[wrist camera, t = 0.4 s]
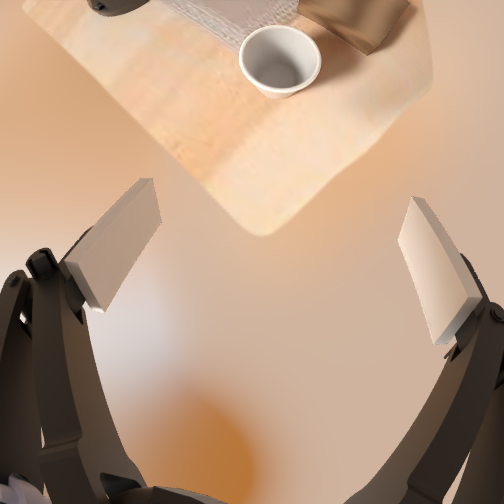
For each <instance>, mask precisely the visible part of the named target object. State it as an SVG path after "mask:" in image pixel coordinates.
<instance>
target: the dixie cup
mask: <svg viewBox="0 0 504 504" xmlns="http://www.w3.org/2000/svg"><path fill="white" fill-rule="evenodd" d="M239 62H240V66H241V69H242V71H243V73H244V74H245V76H246V77H247V78H248V79H249V80H250V81H251V82H252V83H253V84H255V85H256V87H257V88H258V89H259V91H260V92H261V93H262V94H263V95H265V96H266V97H269V98H271V99H285V98H287V97H289V96H291V95H292V94H294V93H295V92H296V91H298V90H300V89H303V88H305V87H306V86H308V85H309V84H311V83H312V82H313V81H314V80H315V78H316V77H317V75H318V74H319V71H320V68H321V54H320V51H319V48H318V46H317V45H316V43H315V42H314V41H313V39H312V38H311V37H310V36H308V35H307V34H306V33H304V32H303V31H301V30H299V29H296V28H294V27H290V26H285V25H271V26H266V27H263V28H260V29H258V30H256V31H254V32H253V33H251V34H250V35H249V36H248V37H247V38H246V39H245V41H244V42H243V44H242V46H241V48H240V52H239Z"/></svg>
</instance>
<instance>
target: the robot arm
mask: <svg viewBox="0 0 504 504" xmlns="http://www.w3.org/2000/svg"><path fill="white" fill-rule="evenodd" d="M147 1H149V0H87V2H88V4H89V6H90V8H91V9H92V10H94V11H95V12H97V13H98V14H100V15H102V16H117V15H121V14H124V13H127V12H130V11H132V10H134V9H136V8H138V7H140V6H141V5H143V4H144V3H146V2H147ZM161 223H162V221H161V217H160V212H159V207H158V202H157V198H156V193H155V188H154V183H153V178H141V179H139V180H138V181H137V182H136V183H135V184H134V185H133V186H132V187H131V188H130V189H129V190H128V191H127V192H126V193H125V194H124V195H123V196H122V197H121V198H120V199H119V200H118V201H117V202H116V203H115V204H114V205H113V206H112V207H111V208H110V209H109V210H108V211H107V212H106V213H105V214H104V215H103V216H102V217H101V218H100V220H98V222H97V223H96V224H95V225H94V226H92V227H91V228H89V229H88V230H87V231H85V232H84V234H83V235H82V236H81V237H80V238H79V240H77V241H76V243H75V244H74V246H72V247H71V249H70V250H69V251H68V252H67V253H66V255H65V256H64V257H63V258H62V259H61V261H60V262H59V263H57V261H56V259H55V257H54V255H53V253H52V251H51V250H50V249H49V248H42V249H39V250H37V251H36V252H34V253H33V254H32V255H31V256H30V257H29V258H28V260H27V262H26V266H27V268H28V270H29V271H30V273H31V275H32V277H33V278H28V277H27V275H26V274H25V272H24V271H23V270H17V271H15V272H13V273H11V274H10V275H9V277H8V278H7V279H6V281H5V283H4V285H3V288H2V290H1V293H0V504H227V503H224V502H221V501H219V500H217V499H214V498H212V497H210V496H208V495H203V494H199V493H195V492H191V491H187V490H183V489H179V488H168V487H158V486H154V487H147V485H146V483H145V481H144V479H143V477H142V475H141V473H140V471H139V470H138V468H137V467H136V465H135V464H134V463H133V462H132V461H131V460H130V459H129V457H128V456H127V454H126V453H125V450H124V448H123V446H122V443H121V441H120V438H119V436H118V433H117V431H116V428H115V425H114V422H113V420H112V417H111V414H110V411H109V408H108V405H107V402H106V399H105V396H104V392H103V389H102V386H101V382H100V378H99V375H98V371H97V367H96V363H95V359H94V355H93V350H92V346H91V341H90V336H89V331H88V326H87V320H86V314H85V310H84V309H83V307H82V305H83V304H84V302H85V301H86V302H87V303H88V305H89V306H90V308H91V310H95V311H98V312H103V313H105V312H106V310H107V308H108V306H109V305H110V303H111V301H112V299H113V298H114V296H115V294H116V292H117V291H118V289H119V287H120V286H121V284H122V282H123V281H124V279H125V278H126V276H127V274H128V273H129V271H130V269H131V268H132V266H133V265H134V263H135V262H136V260H137V258H138V257H139V255H140V254H141V252H142V251H143V249H144V248H145V246H146V244H147V243H148V242H149V240H150V239H151V237H152V236H153V234H154V233H155V231H156V230H157V228H158V227H159V226H160V224H161ZM397 241H398V243H399V246H400V248H401V251H402V253H403V256H404V258H405V261H406V263H407V266H408V268H409V271H410V274H411V276H412V279H413V282H414V285H415V288H416V290H417V293H418V296H419V299H420V302H421V305H422V309H423V312H424V315H425V318H426V321H427V325H428V329H429V332H430V336H431V340H432V343H433V345H440V344H448V342H449V341H450V340H451V339H452V338H453V336H454V335H455V336H456V340H457V343H456V344H455V345H454V346H453V347H452V349H451V350H450V351H449V352H448V353H447V354H446V355H445V356H444V359H446V358H447V357H448V356H449V357H448V359H447V362H446V364H445V366H444V368H443V370H442V372H441V375H440V377H439V379H438V380H437V383H436V384H435V386H434V388H433V390H432V392H431V394H430V396H429V398H428V400H427V401H426V403H425V405H424V406H423V408H422V410H421V412H420V413H419V415H418V417H417V418H416V420H415V421H414V423H413V424H412V426H411V428H410V429H409V431H408V432H407V434H406V435H405V437H404V438H403V440H402V441H401V443H400V444H399V445H398V447H397V448H396V449H395V451H394V452H393V453H392V455H391V456H390V457H389V459H388V460H387V461H386V463H385V464H384V465H383V466H382V468H381V469H380V470H379V471H378V473H377V474H376V475H375V477H373V479H372V480H371V481H370V482H369V483H368V484H367V485H366V486H365V487H364V488H363V489H362V490H360V491H358V492H357V493H355V494H354V495H353V496H352V497H350V498H349V499H348V500H347V501H346V502H345V503H344V504H442V501H443V498H444V496H445V495H446V493H447V491H448V490H449V488H450V486H451V485H452V483H453V481H454V480H455V478H456V476H457V474H458V473H459V471H460V469H461V467H462V465H463V463H464V462H465V459H466V458H467V456H468V454H469V452H470V454H469V457H468V461H467V464H466V467H465V470H464V473H463V476H462V479H461V481H460V484H459V487H458V489H457V492H456V494H455V497H454V499H453V502H452V504H504V310H503V308H502V307H501V306H500V305H498V304H496V303H494V302H490V301H489V299H488V296H487V294H486V292H485V290H484V288H483V286H482V284H481V282H480V280H479V279H478V277H477V275H476V273H475V272H474V269H473V267H472V265H471V263H470V262H469V261H468V260H467V259H466V257H465V256H464V255H463V254H461V253H459V252H458V250H457V248H456V246H455V245H454V243H453V242H452V240H451V238H450V236H449V235H448V233H447V232H446V230H445V229H444V227H443V226H442V224H441V222H440V221H439V220H438V218H437V217H436V215H435V214H434V212H433V211H432V209H431V208H430V207H429V205H428V204H427V202H426V201H425V199H423V198H417V197H411V200H410V203H409V207H408V210H407V213H406V216H405V219H404V222H403V226H402V229H401V232H400V234H399V237H398V240H397ZM21 313H22V315H23V316H24V317H25V318H26V321H25V323H23V322H22V321H21V320H20V314H21ZM41 427H42V431H43V436H44V441H45V445H44V447H43V448H42V442H41ZM470 450H471V451H470ZM44 483H45V486H46V488H47V492H48V494H49V497H50V499H49V498H47V497H46V496H43V490H44ZM106 494H107V495H106ZM107 496H108V497H109V499H108V497H107ZM50 500H51V501H50Z"/></svg>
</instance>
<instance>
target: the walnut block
mask: <svg viewBox="0 0 504 504" xmlns="http://www.w3.org/2000/svg"><path fill="white" fill-rule="evenodd" d="M409 4H410V2H408V1H407V0H299V4H298V9H297V13H299V14H301V15H303V16H305V17H307V18H309V19H310V20H312V21H314V22H316V23H318V24H319V25H321V26H323V27H325V28H326V29H328V30H330V31H331V32H333V33H335V34H336V35H338V36H339V37H341V38H343V39H344V40H346V41H347V42H349V43H350V44H352V45H353V46H355V47H356V48H357V49H359V50H360V51H362V52H363V53H364V54H366V55H367V56H368V55H369V54H370V53H371V52H372V51H373V50H374V49H375V48H377V47H378V46H379V45H380V44H381V42H382V41H383V39H384V38H385V37H386V35H387V34H388V32H389V31H390V30H391V28H392V27H393V26H394V24H395V23H396V21H397V20H398V19H399V17H400V16H401V15H402V13H403V12H404V10H405V9H406V8H407V6H408V5H409Z"/></svg>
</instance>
